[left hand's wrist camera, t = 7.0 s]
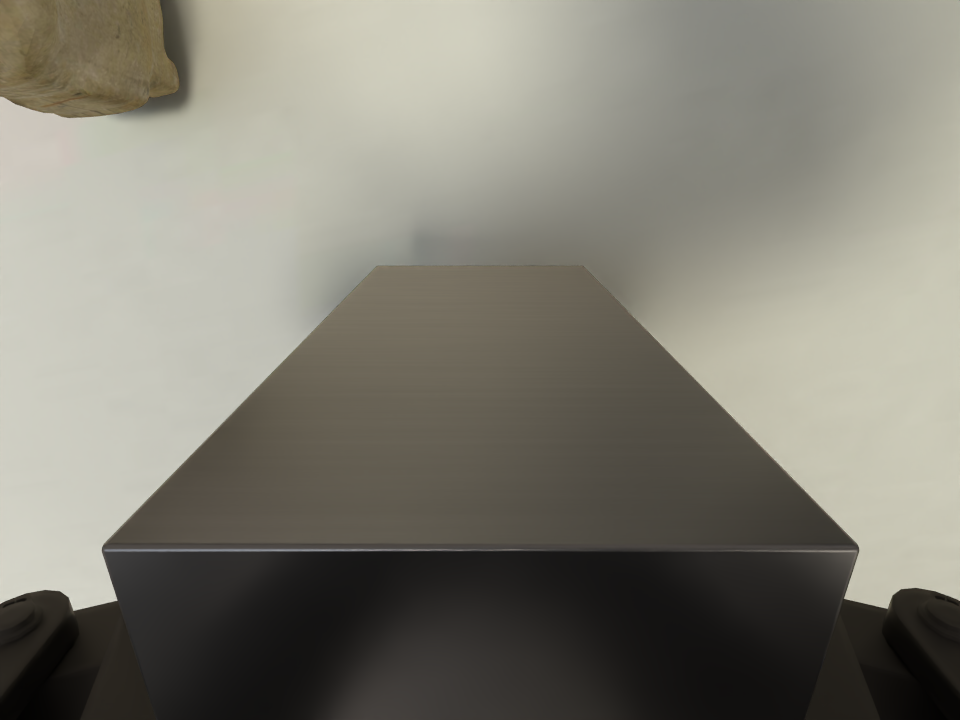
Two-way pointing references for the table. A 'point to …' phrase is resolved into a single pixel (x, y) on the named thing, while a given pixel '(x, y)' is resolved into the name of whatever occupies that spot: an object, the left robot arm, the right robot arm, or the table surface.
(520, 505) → the box
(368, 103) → the table surface
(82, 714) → the left robot arm
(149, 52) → the sculpture
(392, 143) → the table surface
